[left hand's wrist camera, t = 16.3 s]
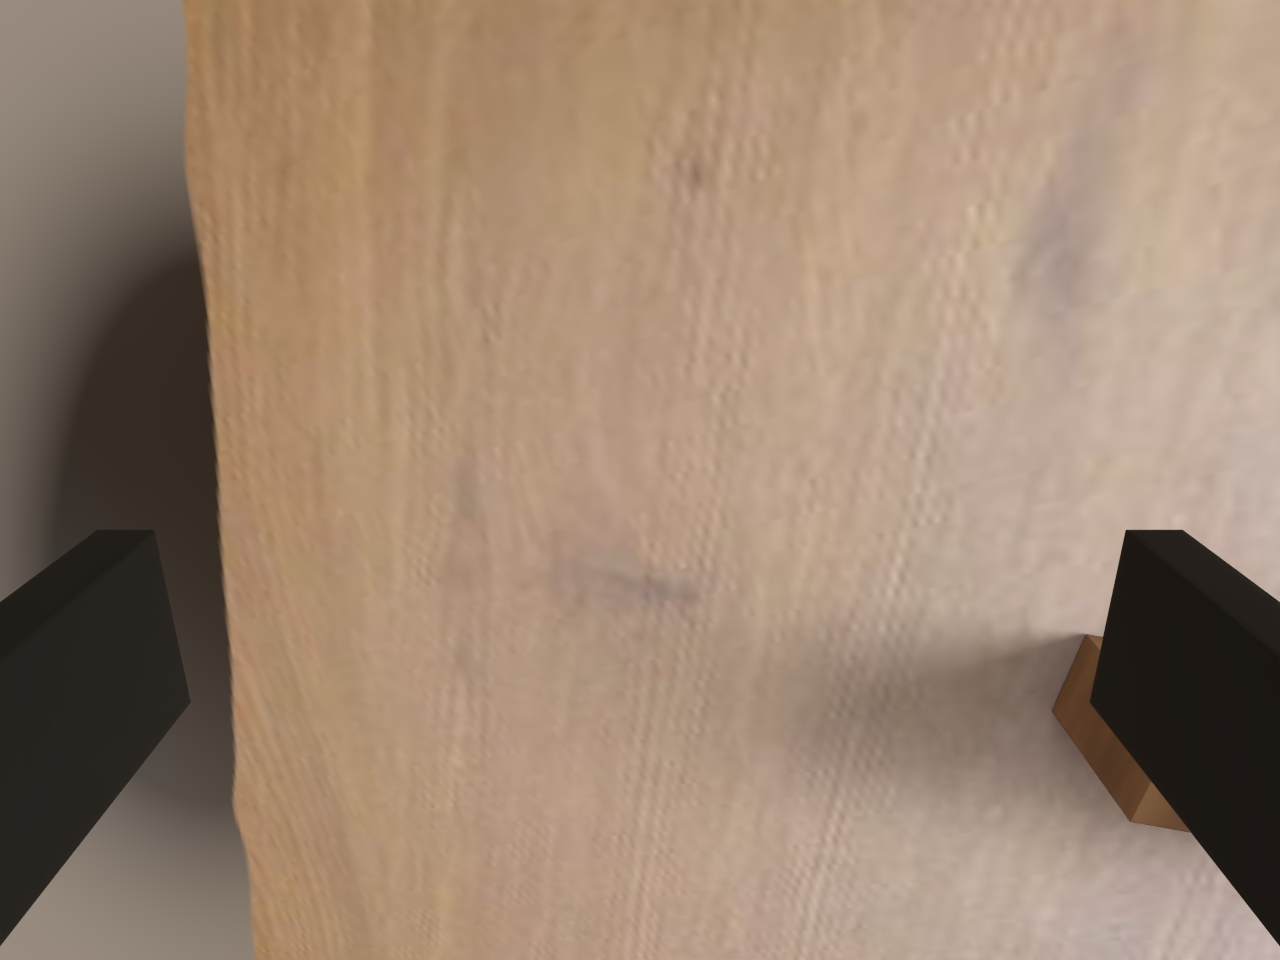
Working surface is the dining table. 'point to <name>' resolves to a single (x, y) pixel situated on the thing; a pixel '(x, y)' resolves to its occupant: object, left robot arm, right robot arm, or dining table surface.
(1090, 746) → the bar
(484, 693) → the dining table surface
